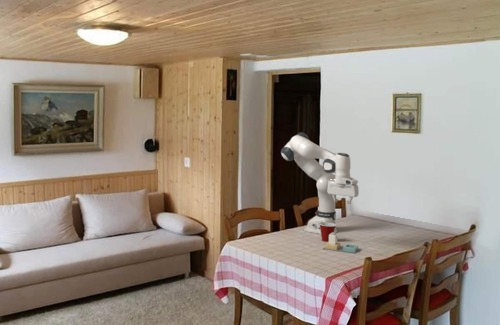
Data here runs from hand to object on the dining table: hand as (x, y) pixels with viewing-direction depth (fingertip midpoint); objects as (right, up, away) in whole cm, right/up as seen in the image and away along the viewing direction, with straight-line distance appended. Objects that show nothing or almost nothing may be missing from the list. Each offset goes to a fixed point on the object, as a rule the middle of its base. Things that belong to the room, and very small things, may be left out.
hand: (342, 202), depth 313 cm
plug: (-6, -27, -3) cm, 28 cm away
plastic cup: (-7, -26, +13) cm, 30 cm away
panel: (-1, -28, -6) cm, 29 cm away
